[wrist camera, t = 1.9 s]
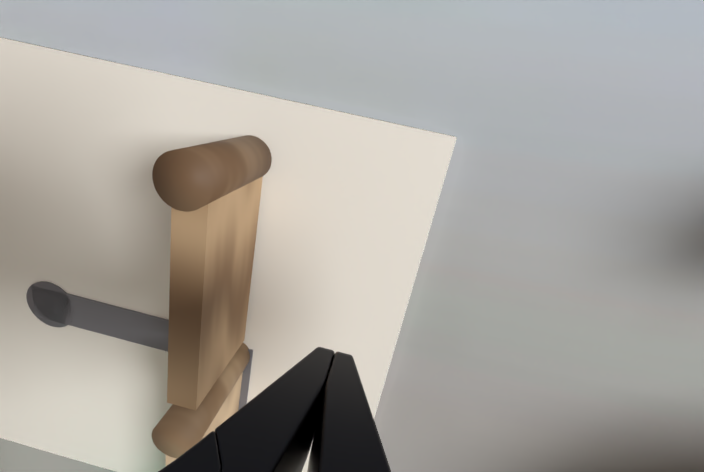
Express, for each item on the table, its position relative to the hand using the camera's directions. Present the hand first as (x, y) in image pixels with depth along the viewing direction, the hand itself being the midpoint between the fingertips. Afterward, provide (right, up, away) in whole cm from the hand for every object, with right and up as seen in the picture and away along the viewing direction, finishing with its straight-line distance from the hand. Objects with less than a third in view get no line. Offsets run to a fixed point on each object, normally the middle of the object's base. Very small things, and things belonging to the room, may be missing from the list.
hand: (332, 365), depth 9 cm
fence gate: (-5, +3, +8) cm, 10 cm away
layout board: (-9, -2, +11) cm, 15 cm away
